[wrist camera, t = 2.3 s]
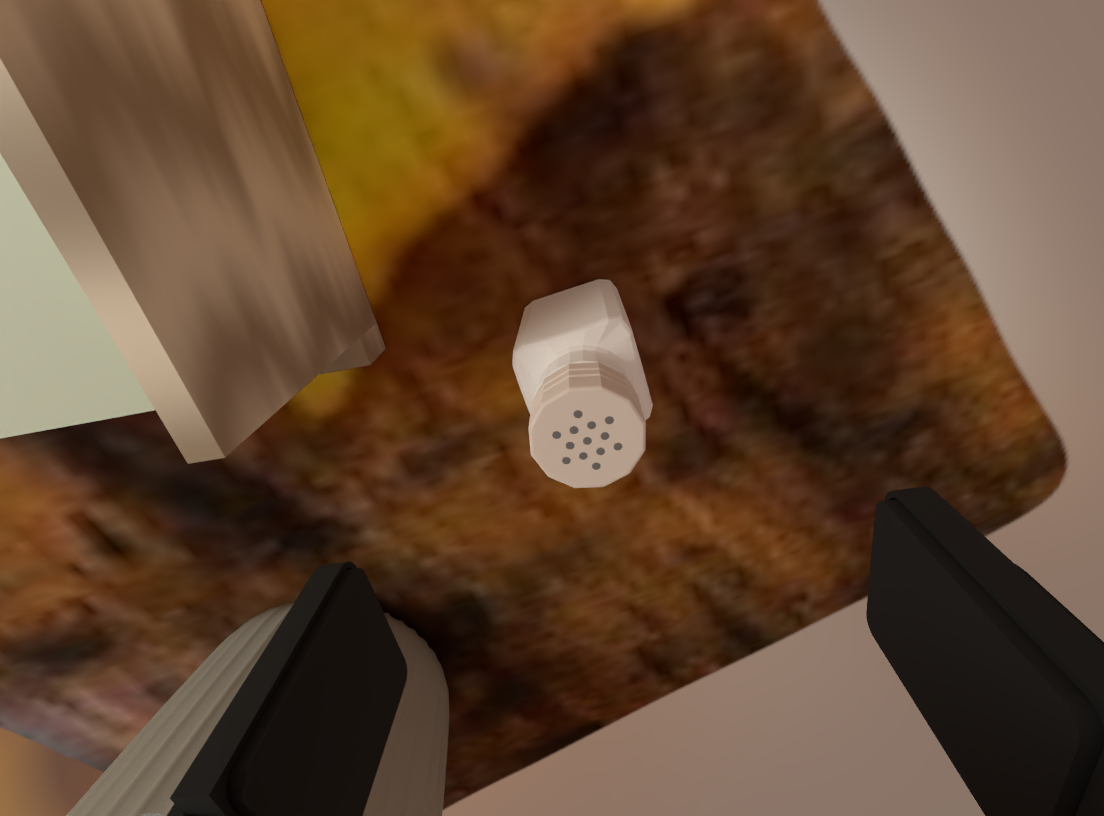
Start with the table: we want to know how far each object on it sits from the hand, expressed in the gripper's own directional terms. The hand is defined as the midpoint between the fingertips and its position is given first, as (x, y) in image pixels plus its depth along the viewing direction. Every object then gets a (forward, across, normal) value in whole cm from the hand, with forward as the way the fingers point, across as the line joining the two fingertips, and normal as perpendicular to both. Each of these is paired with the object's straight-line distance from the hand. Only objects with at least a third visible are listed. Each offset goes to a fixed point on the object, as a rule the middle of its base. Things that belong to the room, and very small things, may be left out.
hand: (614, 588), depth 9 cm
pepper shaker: (+14, 0, -1) cm, 15 cm away
